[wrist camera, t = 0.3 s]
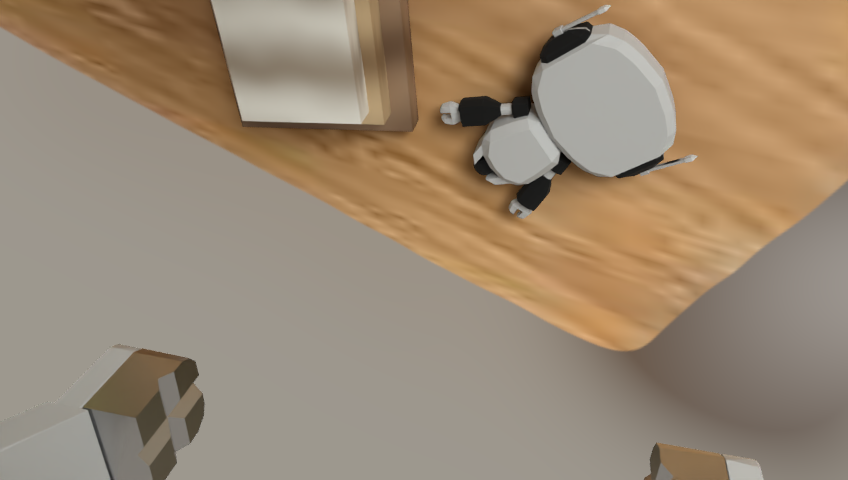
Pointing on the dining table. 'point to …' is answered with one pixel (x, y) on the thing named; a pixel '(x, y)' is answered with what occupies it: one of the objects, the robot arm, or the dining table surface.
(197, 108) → the dining table surface
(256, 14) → the square stepped pedestal
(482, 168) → the robot toy
